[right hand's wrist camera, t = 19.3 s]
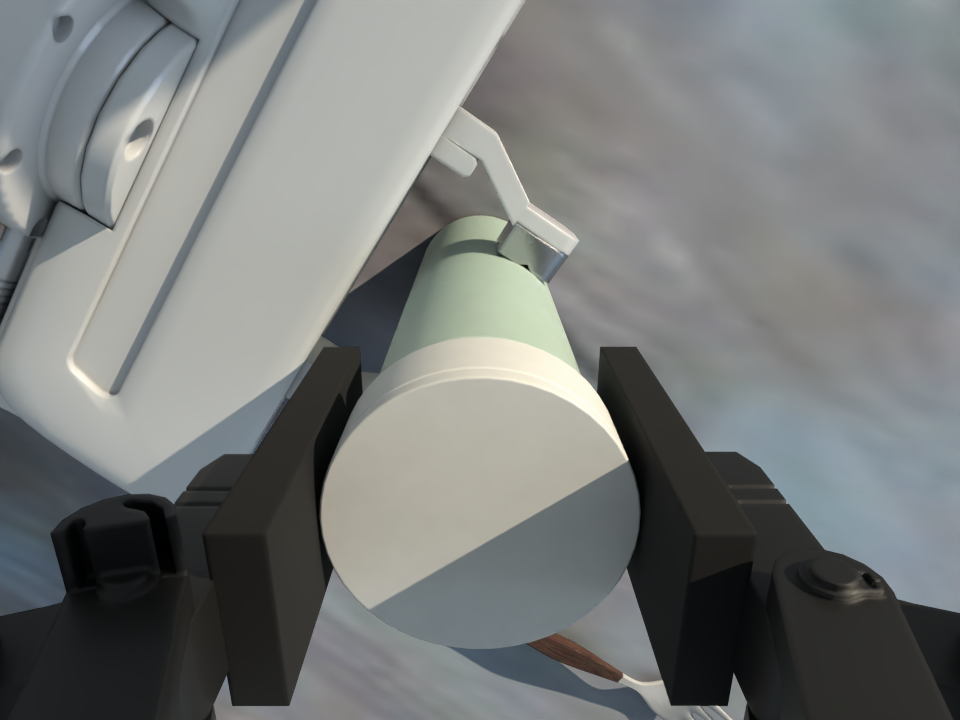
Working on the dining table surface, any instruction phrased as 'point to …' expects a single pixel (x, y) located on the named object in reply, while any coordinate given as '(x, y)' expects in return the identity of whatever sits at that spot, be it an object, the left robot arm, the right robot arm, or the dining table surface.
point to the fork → (619, 678)
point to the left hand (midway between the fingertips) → (505, 338)
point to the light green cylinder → (476, 296)
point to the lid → (480, 496)
